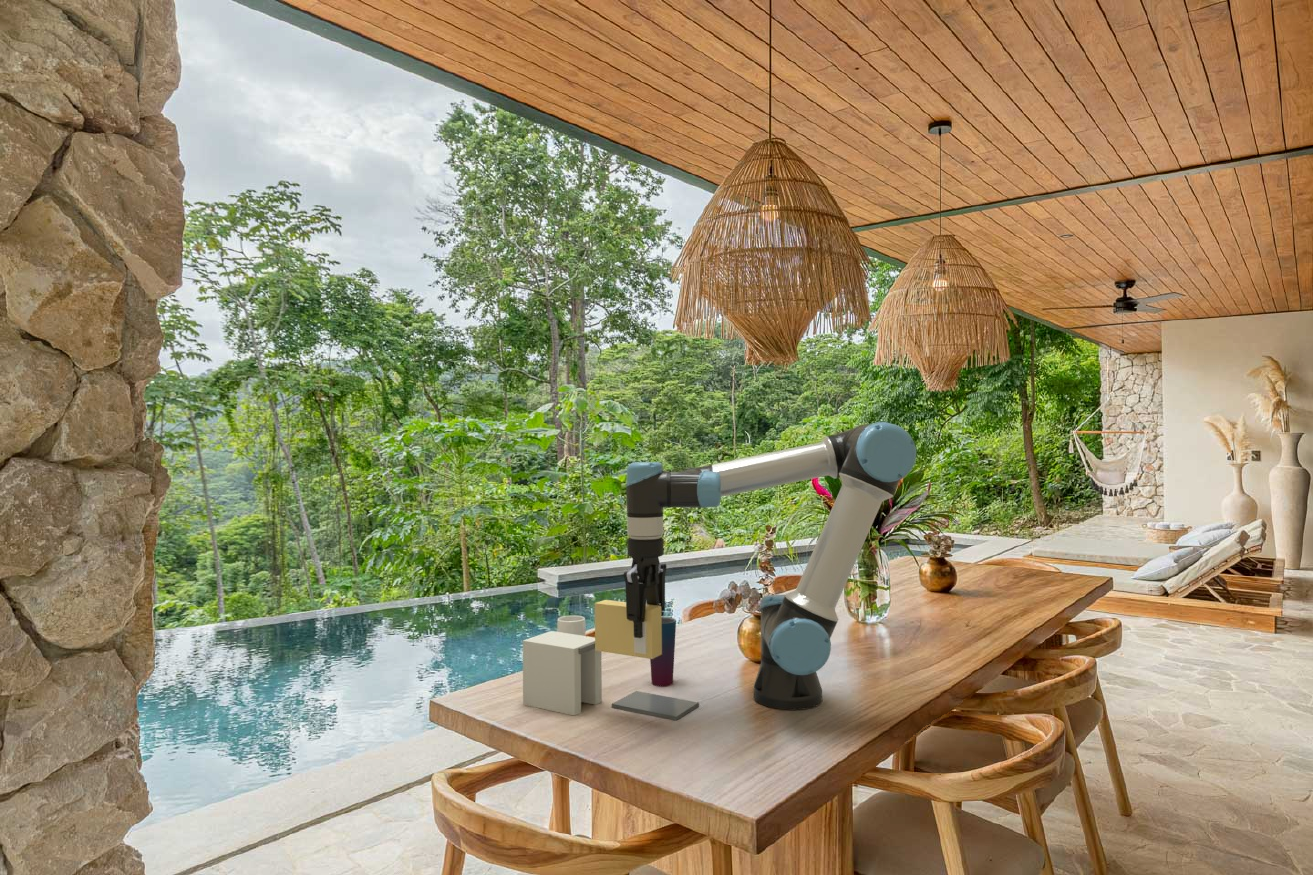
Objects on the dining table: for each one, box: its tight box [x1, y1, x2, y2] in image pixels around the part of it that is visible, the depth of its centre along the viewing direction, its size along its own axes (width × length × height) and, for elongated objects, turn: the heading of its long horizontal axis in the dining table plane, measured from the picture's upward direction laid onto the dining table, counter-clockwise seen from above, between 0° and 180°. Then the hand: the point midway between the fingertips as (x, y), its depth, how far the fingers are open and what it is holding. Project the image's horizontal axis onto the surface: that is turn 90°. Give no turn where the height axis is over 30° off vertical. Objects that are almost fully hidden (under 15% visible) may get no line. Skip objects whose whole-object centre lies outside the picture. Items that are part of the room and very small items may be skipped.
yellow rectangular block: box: [594, 599, 663, 660], centre depth 163 cm, size 14×4×10 cm, turn 60°
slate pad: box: [611, 690, 700, 721], centre depth 169 cm, size 16×10×1 cm, turn 59°
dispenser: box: [522, 630, 603, 717], centre depth 172 cm, size 15×10×14 cm
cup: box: [649, 616, 677, 687], centre depth 185 cm, size 7×7×15 cm
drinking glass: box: [556, 615, 587, 636], centre depth 188 cm, size 7×7×15 cm
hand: (646, 649), depth 161 cm, fingers closed on yellow rectangular block, 4 cm apart
